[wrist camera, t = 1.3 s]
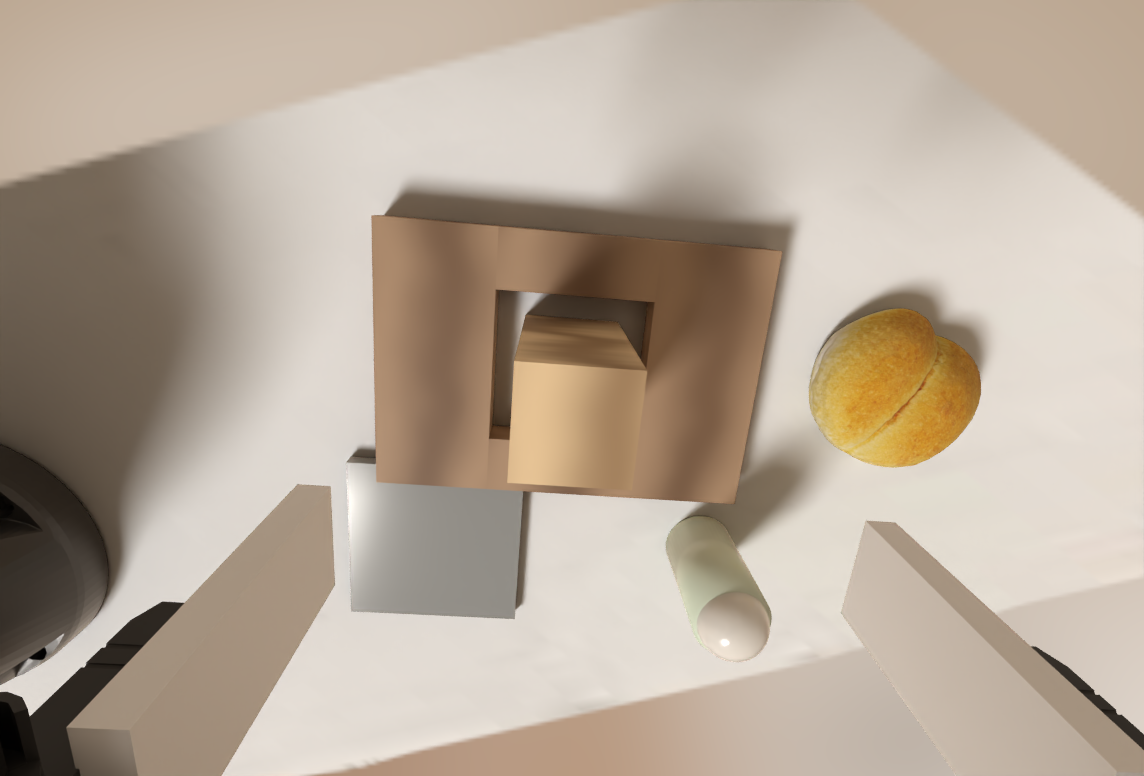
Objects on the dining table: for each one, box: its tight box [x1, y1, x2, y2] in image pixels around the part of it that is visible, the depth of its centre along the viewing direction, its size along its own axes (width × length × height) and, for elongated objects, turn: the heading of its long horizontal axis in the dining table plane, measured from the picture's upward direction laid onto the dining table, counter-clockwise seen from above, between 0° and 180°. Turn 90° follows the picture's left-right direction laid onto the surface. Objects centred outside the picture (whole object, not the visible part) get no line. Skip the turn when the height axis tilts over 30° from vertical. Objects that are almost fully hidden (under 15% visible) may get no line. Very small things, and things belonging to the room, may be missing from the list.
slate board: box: [346, 457, 523, 619], centre depth 34 cm, size 10×10×1 cm
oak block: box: [507, 315, 647, 490], centre depth 27 cm, size 5×5×10 cm
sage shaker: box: [666, 516, 771, 662], centre depth 31 cm, size 4×4×9 cm
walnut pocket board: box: [372, 215, 782, 504], centre depth 30 cm, size 20×14×2 cm
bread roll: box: [809, 308, 981, 467], centre depth 31 cm, size 8×9×4 cm
